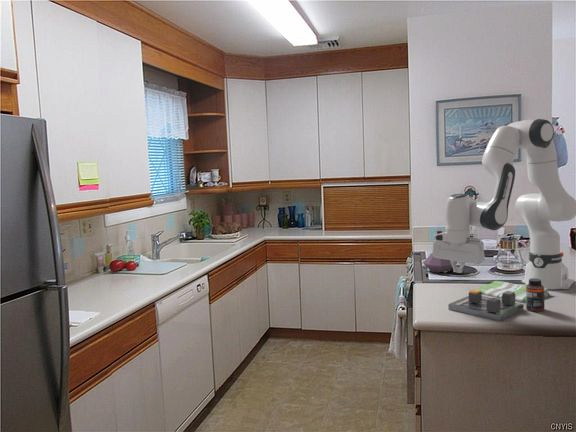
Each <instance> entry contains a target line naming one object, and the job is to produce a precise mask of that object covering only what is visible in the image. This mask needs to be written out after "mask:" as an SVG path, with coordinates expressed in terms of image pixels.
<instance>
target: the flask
mask: <svg viewBox="0 0 576 432" xmlns="http://www.w3.org/2000/svg"><path fill="white" fill-rule="evenodd" d="M440 233H443V231H442V230H437V231H436V234H440ZM422 263H423V264H424V266H425V267H426V268H427V269H428V270H429V271H430V272H431V273H434V272H444V271H449V270H450V271H452V270H453V267H452V265H451V263H450V260H446V259H439V258H434V256H433V251H432V252H431V253H430V255H429V256H428V257H426V258H425V259H424V260H423V262H422ZM457 264H458V261H457V262H456V265H457ZM450 271H449V272H450Z"/></svg>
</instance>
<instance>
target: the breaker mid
mask: <svg viewBox="0 0 576 432" xmlns="http://www.w3.org/2000/svg"><path fill="white" fill-rule="evenodd" d="M468 296H469V302H472V303H478V302H480V301H482V296H483V294H482V292H481V290H476V289H475V288H474V289H471V290H469V292H468Z"/></svg>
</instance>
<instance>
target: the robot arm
mask: <svg viewBox="0 0 576 432" xmlns="http://www.w3.org/2000/svg"><path fill="white" fill-rule="evenodd" d="M554 135H555V130H554V126H553V124H552V123H551V121H549V120H547V119H545V118H537V119H523V120H519V121H514V122H508V123H505V124H504V125H501V126H499V127H497V128H496V130H495V131H494V133H493V134H492V135H491V137H490V139H489V141H488V143H487V145H486V148H485V150H484V153H483V155H482V158H481V164H482V167H483V169H484V170H485V171H486V172H487V173H489V174H491V176H494V177H496V184H495V188H494V192H493V196H492V199H491V200H490V201H488V202H486V201H485V202H484V201H477V200H475V199H472V198H471V197H470V196H469V195H468V194H467V193H455V194H451V195H449V196H448V197H447V200H446V201H445V210H444V211H445V222H446V225H445V231H442V233H440V234H437V233H436V234H434V235H433V240H434V241H433V243H432V252H433V256H434V258H439V259H446V260H450V263H451V265H452V267H453V268H452V270H453V273H457V274H462V273H463V268H464V267H465V266H466V264H467V263H468V264H473V265H481V264H483V263H484V262H485V259H486V258H485V257H486V256H485V251H484V250H485V249H484V248H485V247H484V245H485V244H484V242H483V240H481V238H480V239H479V238H473V237H471V227H476V228H484V229H487V230H491V231H497V230H500V229H501V228H502V227H503V226H504V225H506V223H507V220H508V216H509V215H508V214H509V205H510V201H511V196H512V191H513V188H514V184H515V178H516V169H515V167H514V160H515V158H516V155H517V152H518V149H525V150H526V167H527V168H526V170H527V179H528V182H529V184H531V185H532V186H533V187H535V188H536V189H537V190H538V193H537V192H536V193H535V192H533V193H532V192H531V193H526V194H522V195H520V196H518V197H517V199H516V201H515V205H514V206H515V211H516V214H518V216H520V217H521V218H522V220H523V221H524V223H525V224H526V226H527V229H528V233H529V234H528V235H529V244H530V245H529V246H530V247H529V249H530V250H529V251H528V260H529V262H527V263H526V264H525V273H524V278H523V279H521V283H523V284H525V286H527V285H528V284H529V279H531V278H537V279H541V285H543V286H544V288H548V290H569V289H570V288H571V287H572V286H573V284H574V283H575V279H574V278H572V277H569V268H568V267H567V266H566V265H565V264H564V263H563V262H562V261H563V257H564V255H565V254H564V252H563V251H560V250H561V236H560V233H559V232H558V231H557V230H556V229H554V228H553V227H552V225H551V223H550V222H557V223H558V222H565V221H566V222H567V221H568V222H569V221H571V220H573V219H574V218H576V199H575V198H574V197H573V196H571V195H570V194H569V193H568V191H566V189H565V188H564V186H563V184H562V182H561V179H560V176H559V166H558V155H557V149H556V145H555V142H554ZM456 262H457V263H458V265H459V266H458V265H457V264H456Z"/></svg>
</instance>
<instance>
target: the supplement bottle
mask: <svg viewBox="0 0 576 432" xmlns="http://www.w3.org/2000/svg"><path fill="white" fill-rule="evenodd" d="M525 286H526V303H525V308H526V310H527V311H529V312H535V313H536V312H537V313H539V312H543V311H545V297H544V286H543V285H541V279H537V278H531V279H529V284H528V285H525Z"/></svg>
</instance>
